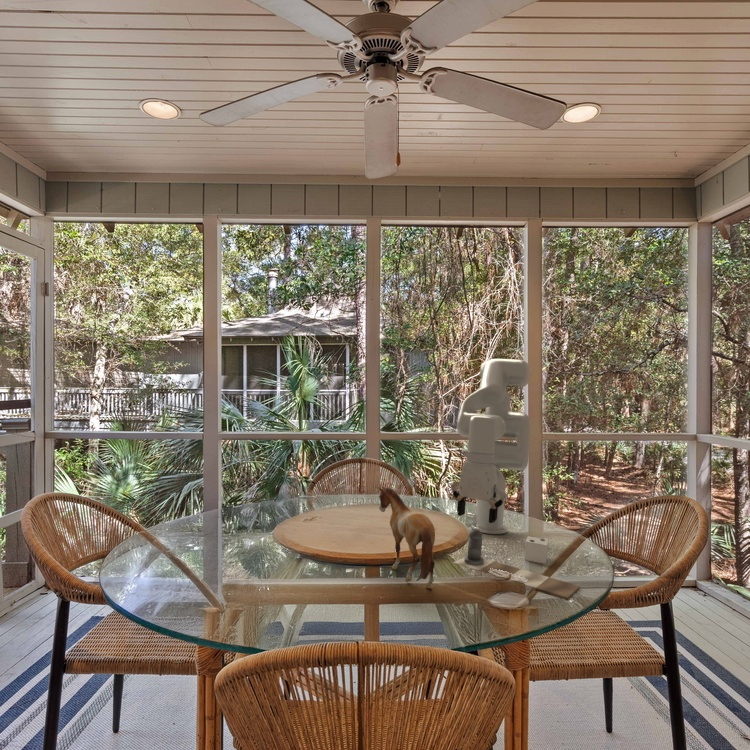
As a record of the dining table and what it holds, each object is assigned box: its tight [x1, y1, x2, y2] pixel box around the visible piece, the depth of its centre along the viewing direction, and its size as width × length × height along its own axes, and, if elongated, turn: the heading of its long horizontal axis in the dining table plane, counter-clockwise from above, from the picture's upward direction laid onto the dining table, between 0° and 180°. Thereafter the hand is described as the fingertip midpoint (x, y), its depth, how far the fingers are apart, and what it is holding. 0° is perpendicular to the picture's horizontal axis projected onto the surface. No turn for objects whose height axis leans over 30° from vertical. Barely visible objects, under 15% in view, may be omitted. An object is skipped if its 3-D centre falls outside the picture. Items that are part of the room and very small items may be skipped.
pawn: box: [464, 529, 485, 565], centre depth 149 cm, size 5×5×9 cm
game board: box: [452, 556, 580, 601], centre depth 142 cm, size 32×10×1 cm, turn 53°
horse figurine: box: [378, 486, 436, 589], centre depth 137 cm, size 31×8×21 cm, turn 20°
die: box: [524, 536, 549, 565], centre depth 156 cm, size 6×6×6 cm
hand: (476, 518), depth 149 cm, fingers open, 9 cm apart
